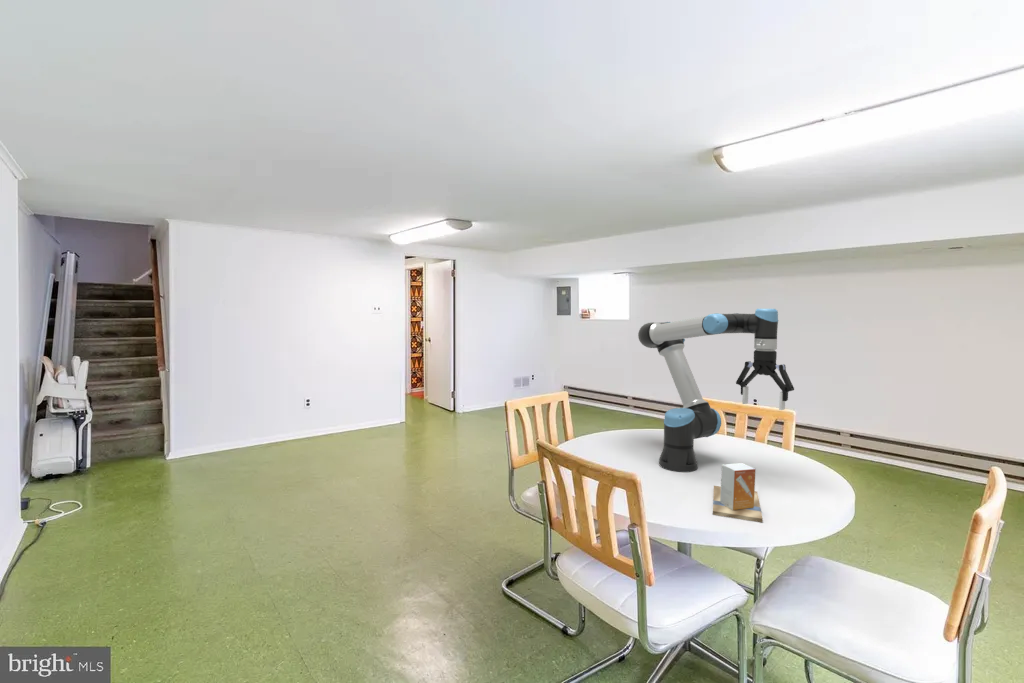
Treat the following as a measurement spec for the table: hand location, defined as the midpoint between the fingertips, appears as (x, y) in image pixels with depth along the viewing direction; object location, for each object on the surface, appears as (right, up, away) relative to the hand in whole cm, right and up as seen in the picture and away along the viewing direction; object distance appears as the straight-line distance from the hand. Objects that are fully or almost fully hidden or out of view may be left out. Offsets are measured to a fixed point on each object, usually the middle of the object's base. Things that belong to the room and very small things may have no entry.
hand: (763, 406), depth 178 cm
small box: (-21, -29, -24) cm, 43 cm away
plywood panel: (-19, -30, -20) cm, 41 cm away
